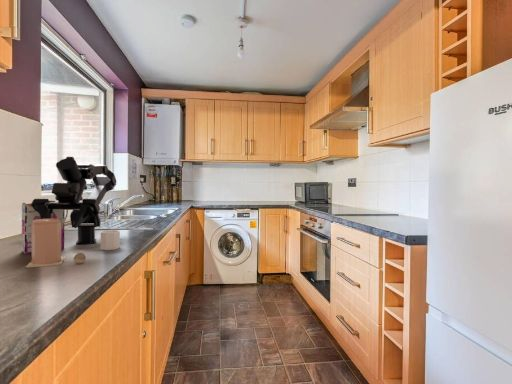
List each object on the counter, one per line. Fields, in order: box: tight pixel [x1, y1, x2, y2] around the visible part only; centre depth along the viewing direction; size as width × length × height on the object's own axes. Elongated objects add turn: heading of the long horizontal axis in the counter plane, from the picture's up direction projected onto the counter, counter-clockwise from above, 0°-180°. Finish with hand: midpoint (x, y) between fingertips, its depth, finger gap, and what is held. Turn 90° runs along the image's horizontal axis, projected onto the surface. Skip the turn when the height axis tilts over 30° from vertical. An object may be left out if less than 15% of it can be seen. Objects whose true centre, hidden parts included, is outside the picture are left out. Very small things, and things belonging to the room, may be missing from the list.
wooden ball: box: [73, 252, 87, 265], centre depth 82 cm, size 3×3×3 cm
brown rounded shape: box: [31, 219, 62, 264], centre depth 82 cm, size 6×6×12 cm
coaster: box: [25, 256, 66, 269], centre depth 82 cm, size 8×8×1 cm
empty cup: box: [100, 229, 121, 251], centre depth 102 cm, size 6×6×6 cm
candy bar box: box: [21, 202, 66, 255], centre depth 96 cm, size 11×5×16 cm, turn 141°
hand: (58, 227), depth 89 cm, fingers open, 9 cm apart
